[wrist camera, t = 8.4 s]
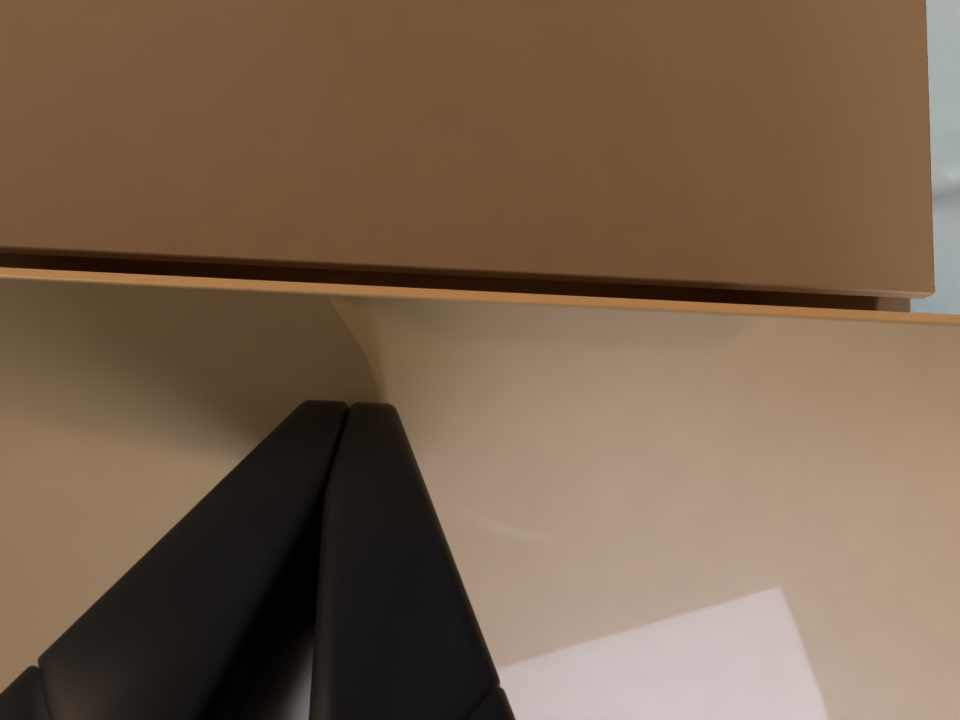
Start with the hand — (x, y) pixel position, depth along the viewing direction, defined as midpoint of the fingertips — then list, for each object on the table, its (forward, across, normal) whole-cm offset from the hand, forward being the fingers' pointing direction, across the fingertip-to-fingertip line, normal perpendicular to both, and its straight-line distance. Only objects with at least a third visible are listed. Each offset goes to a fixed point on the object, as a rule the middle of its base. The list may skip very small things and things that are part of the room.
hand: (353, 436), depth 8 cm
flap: (0, 0, +2) cm, 2 cm away
